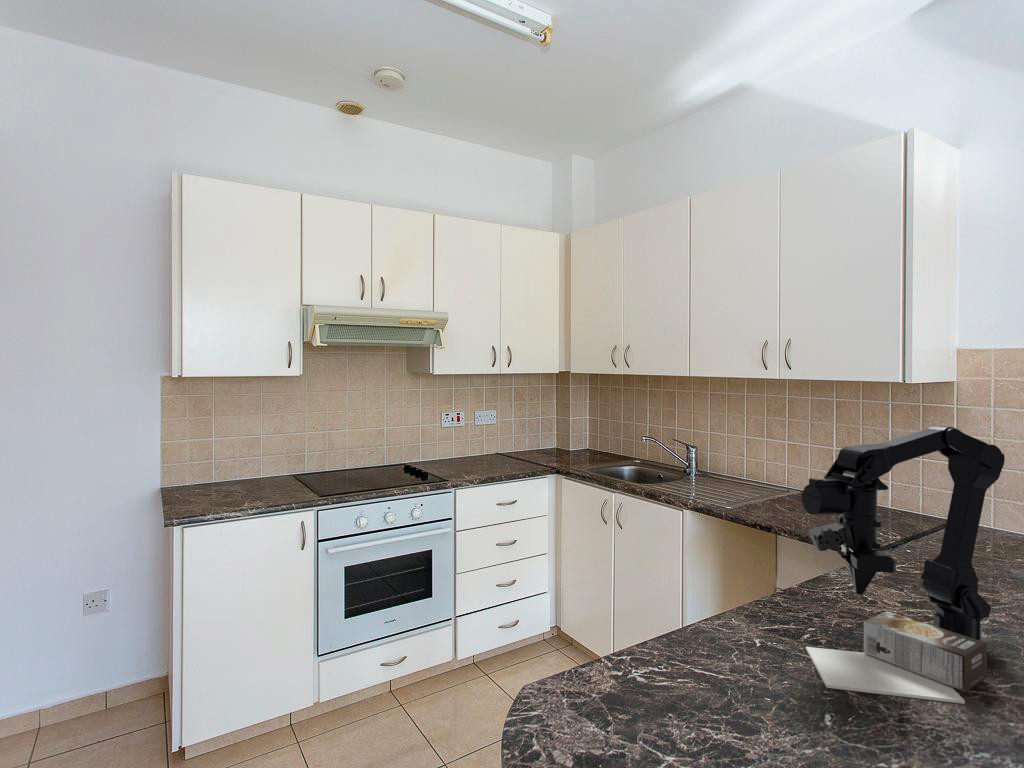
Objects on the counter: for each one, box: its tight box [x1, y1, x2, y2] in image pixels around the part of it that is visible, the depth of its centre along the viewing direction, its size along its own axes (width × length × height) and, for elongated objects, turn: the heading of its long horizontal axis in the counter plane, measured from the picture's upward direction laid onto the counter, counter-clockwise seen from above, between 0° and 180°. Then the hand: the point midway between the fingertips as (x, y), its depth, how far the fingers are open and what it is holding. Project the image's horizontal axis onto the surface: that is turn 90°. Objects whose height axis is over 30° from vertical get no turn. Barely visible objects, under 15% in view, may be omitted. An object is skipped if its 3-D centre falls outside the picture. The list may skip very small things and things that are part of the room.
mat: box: [805, 646, 966, 705], centre depth 101 cm, size 20×14×1 cm
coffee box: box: [863, 611, 988, 693], centre depth 103 cm, size 9×6×16 cm
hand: (859, 593), depth 111 cm, fingers closed
